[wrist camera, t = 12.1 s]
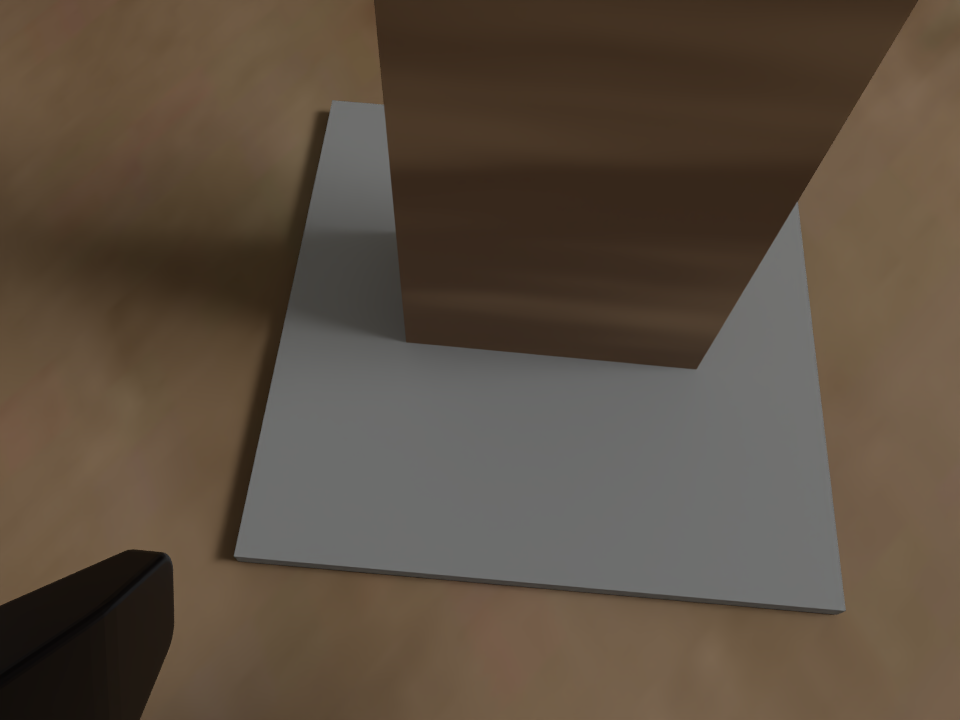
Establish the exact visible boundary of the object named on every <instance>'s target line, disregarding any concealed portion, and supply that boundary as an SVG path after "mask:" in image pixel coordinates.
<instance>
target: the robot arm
mask: <svg viewBox="0 0 960 720" xmlns="http://www.w3.org/2000/svg"><path fill="white" fill-rule="evenodd" d="M173 630H174V591H173V565H172V561H171V558H170V557H169V556H168V555H167V554H166V553H162V552H154V551H144V550H134V549H133V550H127V551H124V552H122V553H119V554H117V555H115V556H113V557H110V558H108V559H106V560H103V561H101V562H99V563H97V564H94V565H92V566H90V567H87V568H85V569H83V570H81V571H78V572H76V573H74V574H71V575H69V576H67V577H65V578H62V579H60V580H58V581H55V582H53V583H51V584H49V585H46V586H44V587H42V588H39V589H37V590H35V591H33V592H30V593H28V594H26V595H23V596H21V597H19V598H17V599H14V600H12V601H10V602H7V603H5V604H3V605H1V606H0V720H140V718H141V716H142V713H143V711H144V708H145V706H146V703H147V701H148V698H149V696H150V694H151V691H152V689H153V686H154V684H155V681H156V679H157V676H158V674H159V672H160V669H161V667H162V664H163V662H164V659H165V657H166V654H167V652H168V650H169V647H170V644H171V640H172V636H173Z"/></svg>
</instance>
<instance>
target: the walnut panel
mask: <svg viewBox="0 0 960 720" xmlns="http://www.w3.org/2000/svg"><path fill="white" fill-rule="evenodd" d="M917 1H918V0H374V4H375V15H376V26H377V36H378V47H379V58H380V68H381V79H382V90H383V101H384V111H385V122H386V133H387V143H388V154H389V165H390V175H391V186H392V197H393V207H394V218H395V229H396V240H397V250H398V261H399V272H400V282H401V293H402V304H403V314H404V325H405V336H406V342H407V343H418V344H428V345H439V346H450V347H460V348H471V349H482V350H493V351H503V352H514V353H525V354H535V355H546V356H557V357H568V358H578V359H589V360H600V361H610V362H621V363H632V364H643V365H653V366H664V367H675V368H686V369H697V368H698V366H699V364H700V363H701V361H702V359H703V358H704V356H705V355H706V353H707V351H708V350H709V348H710V346H711V345H712V343H713V341H714V340H715V338H716V336H717V335H718V333H719V331H720V330H721V328H722V326H723V325H724V323H725V321H726V320H727V318H728V316H729V315H730V313H731V311H732V310H733V308H734V306H735V305H736V303H737V301H738V300H739V298H740V296H741V295H742V293H743V291H744V290H745V288H746V286H747V285H748V283H749V281H750V280H751V278H752V276H753V275H754V273H755V271H756V270H757V268H758V266H759V265H760V263H761V261H762V260H763V258H764V256H765V255H766V253H767V251H768V250H769V248H770V246H771V245H772V243H773V241H774V240H775V238H776V236H777V235H778V233H779V231H780V230H781V228H782V226H783V225H784V223H785V221H786V220H787V218H788V216H789V215H790V213H791V211H792V210H793V208H794V206H795V205H796V203H797V201H798V200H799V198H800V196H801V195H802V193H803V191H804V190H805V188H806V186H807V185H808V183H809V181H810V180H811V178H812V176H813V175H814V173H815V171H816V170H817V168H818V166H819V165H820V163H821V161H822V160H823V158H824V156H825V155H826V153H827V151H828V150H829V148H830V146H831V145H832V143H833V141H834V140H835V138H836V136H837V135H838V133H839V131H840V130H841V128H842V126H843V125H844V123H845V121H846V120H847V118H848V116H849V115H850V113H851V111H852V110H853V108H854V106H855V105H856V103H857V101H858V100H859V98H860V96H861V95H862V93H863V91H864V90H865V88H866V86H867V85H868V83H869V81H870V80H871V78H872V76H873V75H874V73H875V71H876V70H877V68H878V66H879V65H880V63H881V61H882V60H883V58H884V56H885V55H886V53H887V51H888V50H889V48H890V46H891V45H892V43H893V41H894V40H895V38H896V36H897V35H898V33H899V31H900V30H901V28H902V26H903V25H904V23H905V21H906V20H907V18H908V16H909V15H910V13H911V11H912V10H913V8H914V6H915V5H916V3H917Z"/></svg>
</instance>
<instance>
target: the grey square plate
mask: <svg viewBox="0 0 960 720" xmlns="http://www.w3.org/2000/svg"><path fill="white" fill-rule="evenodd" d="M234 557H235V558H236V559H237V560H238V561H241V562H253V563H264V564H275V565H286V566H297V567H309V568H320V569H331V570H342V571H354V572H365V573H376V574H387V575H398V576H410V577H421V578H432V579H443V580H455V581H466V582H477V583H488V584H499V585H511V586H522V587H533V588H544V589H556V590H567V591H578V592H589V593H600V594H612V595H623V596H634V597H645V598H657V599H668V600H679V601H690V602H701V603H713V604H724V605H735V606H746V607H758V608H769V609H780V610H791V611H802V612H814V613H825V614H836V615H837V614H840V613H842V612H844V611H846V610H845V601H844V593H843V584H842V576H841V567H840V559H839V550H838V542H837V533H836V525H835V516H834V508H833V499H832V491H831V482H830V474H829V465H828V457H827V448H826V440H825V431H824V422H823V414H822V405H821V397H820V388H819V380H818V371H817V363H816V354H815V346H814V337H813V329H812V320H811V312H810V303H809V295H808V286H807V278H806V269H805V261H804V252H803V244H802V235H801V227H800V218H799V210H798V201H797V203H796V205H795V206H794V208H793V210H792V211H791V213H790V215H789V216H788V218H787V220H786V221H785V223H784V225H783V226H782V228H781V230H780V231H779V233H778V235H777V236H776V238H775V240H774V241H773V243H772V245H771V246H770V248H769V250H768V251H767V253H766V255H765V256H764V258H763V260H762V261H761V263H760V265H759V266H758V268H757V270H756V271H755V273H754V275H753V276H752V278H751V280H750V281H749V283H748V285H747V286H746V288H745V290H744V291H743V293H742V295H741V296H740V298H739V300H738V301H737V303H736V305H735V306H734V308H733V310H732V311H731V313H730V315H729V316H728V318H727V320H726V321H725V323H724V325H723V326H722V328H721V330H720V331H719V333H718V335H717V336H716V338H715V340H714V341H713V343H712V345H711V346H710V348H709V350H708V351H707V353H706V355H705V356H704V358H703V359H702V361H701V363H700V364H699V366H698V368H697V369H686V368H675V367H664V366H653V365H643V364H632V363H621V362H610V361H600V360H589V359H578V358H568V357H557V356H546V355H535V354H525V353H514V352H503V351H493V350H482V349H471V348H460V347H450V346H439V345H428V344H418V343H407V342H406V336H405V325H404V314H403V304H402V293H401V282H400V272H399V261H398V250H397V240H396V229H395V218H394V207H393V197H392V186H391V175H390V165H389V154H388V143H387V133H386V122H385V111H384V105H380V104H369V103H357V102H345V101H334V100H332V105H331V110H330V114H329V119H328V123H327V128H326V133H325V137H324V142H323V146H322V151H321V156H320V160H319V165H318V170H317V174H316V179H315V183H314V188H313V193H312V197H311V202H310V207H309V211H308V216H307V220H306V225H305V230H304V234H303V239H302V244H301V248H300V253H299V257H298V262H297V267H296V271H295V276H294V280H293V285H292V290H291V294H290V299H289V304H288V308H287V313H286V317H285V322H284V327H283V331H282V336H281V341H280V345H279V350H278V354H277V359H276V364H275V368H274V373H273V377H272V382H271V387H270V391H269V396H268V401H267V405H266V410H265V414H264V419H263V424H262V428H261V433H260V438H259V442H258V447H257V451H256V456H255V461H254V465H253V470H252V474H251V479H250V484H249V488H248V493H247V498H246V502H245V507H244V511H243V516H242V521H241V525H240V530H239V535H238V539H237V544H236V548H235V553H234Z"/></svg>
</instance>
